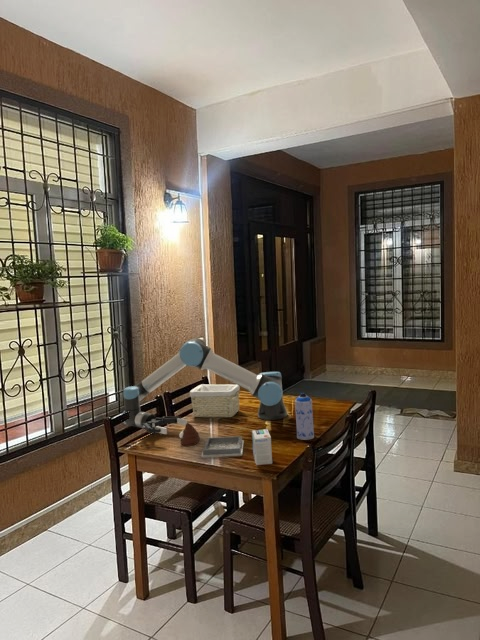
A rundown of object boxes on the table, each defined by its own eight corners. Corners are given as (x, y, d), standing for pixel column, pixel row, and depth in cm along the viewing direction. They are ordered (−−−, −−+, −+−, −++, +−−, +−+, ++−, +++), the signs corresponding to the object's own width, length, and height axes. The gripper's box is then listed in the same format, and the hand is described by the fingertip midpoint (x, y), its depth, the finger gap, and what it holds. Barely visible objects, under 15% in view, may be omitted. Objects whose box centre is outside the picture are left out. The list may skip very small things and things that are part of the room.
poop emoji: (196, 446, 216) (194, 425, 215) (177, 446, 217) (176, 426, 216) (201, 438, 225) (200, 419, 224) (184, 438, 227) (182, 419, 226)
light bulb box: (253, 455, 200) (251, 430, 199) (269, 453, 201) (267, 428, 199) (256, 465, 189) (254, 438, 188) (273, 463, 190) (271, 437, 189)
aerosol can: (316, 434, 219) (314, 391, 217) (310, 440, 212) (307, 396, 210) (300, 433, 223) (298, 390, 221) (293, 438, 216) (291, 394, 214)
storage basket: (190, 417, 260) (188, 390, 258) (202, 409, 275) (200, 383, 273) (232, 419, 252) (230, 391, 251) (242, 410, 267) (240, 383, 266)
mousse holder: (243, 442, 216) (243, 435, 216) (242, 455, 200) (241, 448, 200) (205, 444, 217) (205, 437, 217) (201, 457, 201) (200, 450, 201)
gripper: (165, 421, 248) (196, 426, 235) (126, 436, 228) (157, 443, 215) (164, 406, 247) (194, 411, 234) (125, 420, 228) (156, 426, 214)
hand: (177, 426), depth 225 cm, fingers open, 13 cm apart
